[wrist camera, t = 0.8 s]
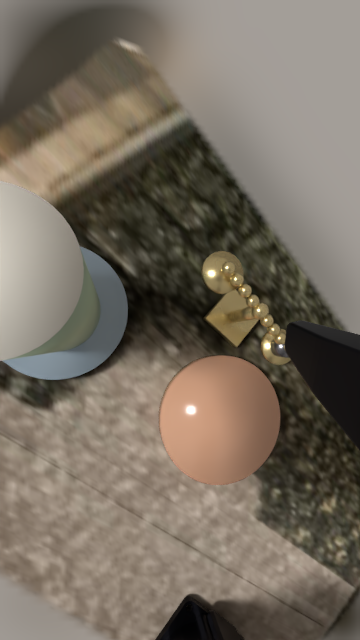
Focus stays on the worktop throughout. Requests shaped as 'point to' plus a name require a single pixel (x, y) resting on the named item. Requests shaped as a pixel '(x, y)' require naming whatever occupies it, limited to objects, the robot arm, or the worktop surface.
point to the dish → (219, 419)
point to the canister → (41, 279)
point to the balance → (240, 307)
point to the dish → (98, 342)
